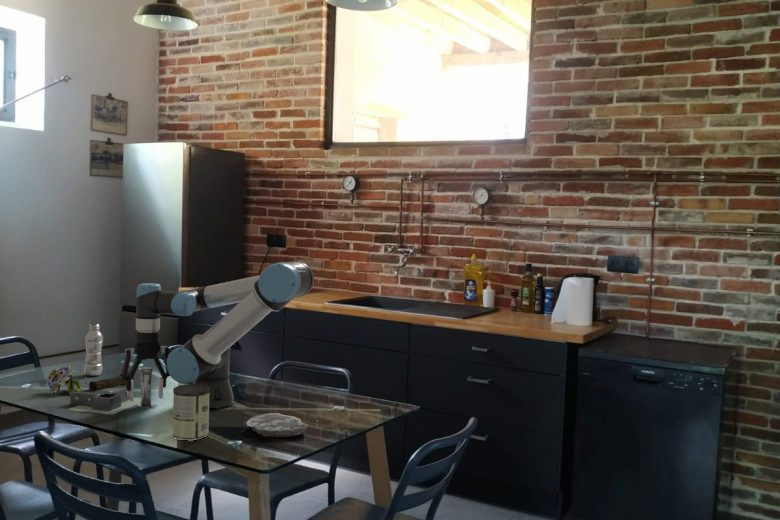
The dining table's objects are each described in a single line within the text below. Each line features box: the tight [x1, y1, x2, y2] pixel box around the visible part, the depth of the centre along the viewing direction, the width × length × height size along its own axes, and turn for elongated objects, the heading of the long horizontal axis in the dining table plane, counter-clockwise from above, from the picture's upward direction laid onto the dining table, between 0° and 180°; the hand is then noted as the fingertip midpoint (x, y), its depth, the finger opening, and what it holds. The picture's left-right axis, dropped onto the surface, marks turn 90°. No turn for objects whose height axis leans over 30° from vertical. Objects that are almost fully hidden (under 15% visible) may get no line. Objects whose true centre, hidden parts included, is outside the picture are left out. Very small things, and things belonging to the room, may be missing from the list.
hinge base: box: [69, 391, 121, 411], centre depth 233 cm, size 16×6×4 cm, turn 77°
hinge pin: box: [140, 366, 154, 409], centre depth 236 cm, size 4×4×13 cm
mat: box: [68, 397, 141, 416], centre depth 237 cm, size 16×21×1 cm
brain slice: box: [245, 412, 309, 435], centre depth 216 cm, size 20×17×3 cm
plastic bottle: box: [83, 323, 104, 377], centre depth 277 cm, size 6×7×20 cm
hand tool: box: [88, 371, 135, 392], centre depth 262 cm, size 19×4×5 cm, turn 150°
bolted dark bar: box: [111, 387, 129, 402], centre depth 240 cm, size 1×10×4 cm, turn 167°
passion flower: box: [46, 364, 88, 396], centre depth 250 cm, size 11×11×12 cm
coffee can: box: [172, 383, 210, 442], centre depth 208 cm, size 10×10×14 cm
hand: (146, 398), depth 236 cm, fingers open, 9 cm apart
